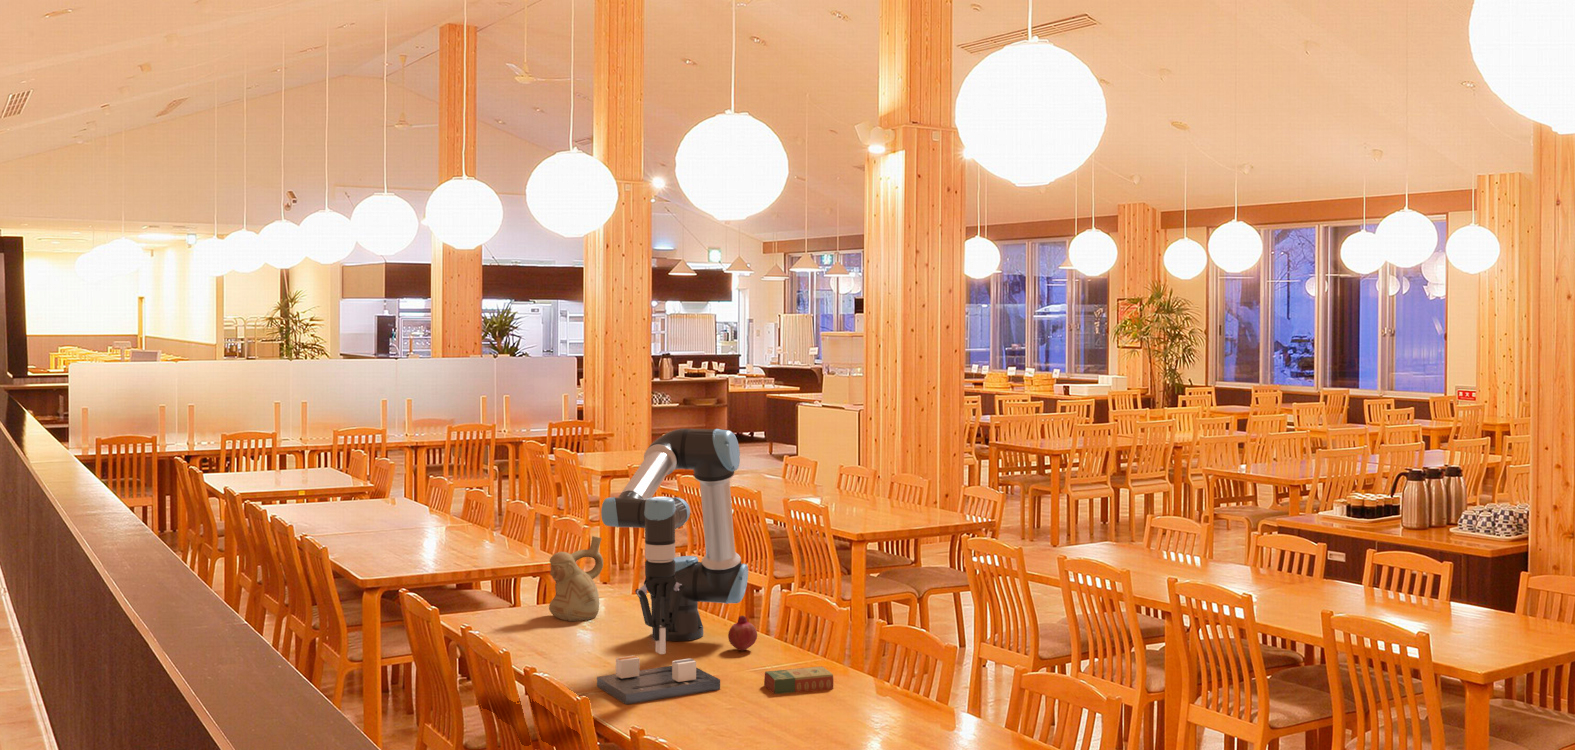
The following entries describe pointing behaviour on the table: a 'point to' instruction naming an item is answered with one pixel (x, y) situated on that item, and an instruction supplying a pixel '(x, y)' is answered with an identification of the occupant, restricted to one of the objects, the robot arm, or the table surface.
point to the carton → (798, 680)
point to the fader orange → (627, 666)
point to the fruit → (742, 634)
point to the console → (655, 685)
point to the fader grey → (684, 670)
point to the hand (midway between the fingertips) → (660, 652)
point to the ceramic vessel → (575, 584)
